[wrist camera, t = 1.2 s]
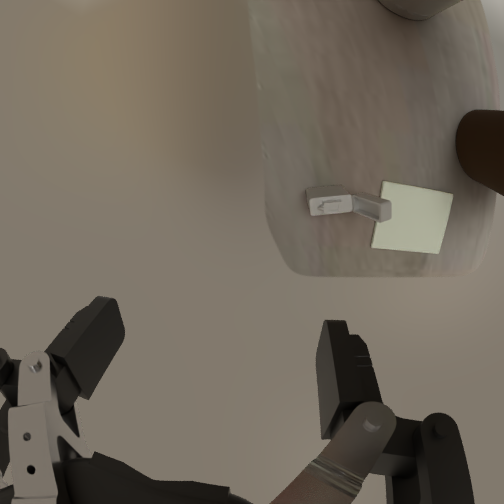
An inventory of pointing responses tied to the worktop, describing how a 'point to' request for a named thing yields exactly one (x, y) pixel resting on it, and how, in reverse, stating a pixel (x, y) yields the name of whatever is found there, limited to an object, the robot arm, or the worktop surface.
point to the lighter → (347, 203)
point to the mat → (413, 219)
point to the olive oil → (482, 147)
